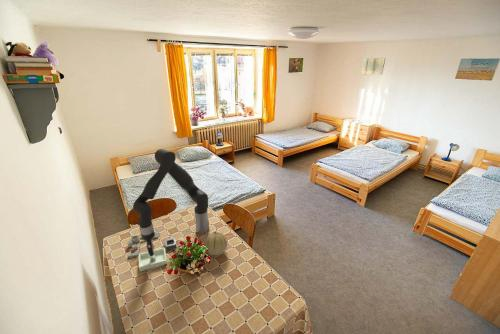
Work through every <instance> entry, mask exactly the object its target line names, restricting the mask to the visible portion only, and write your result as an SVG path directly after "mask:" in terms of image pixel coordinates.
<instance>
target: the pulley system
mask: <svg viewBox="0 0 500 334" xmlns="http://www.w3.org/2000/svg"><path fill="white" fill-rule="evenodd" d="M154 232H155V236H154V237H153V240H155V239H158V238H160V236H161V235H160V233H159V231H157V230H156V231H154ZM140 240H142V241H140ZM138 243H139V246H138V245H137V244H138ZM142 243H146V241H145V240H143V239H142V237H139V235H133V236H131V239H130V240H128V241H127V243H126V244H127V247H131V248H132V251H131V252H129V253H128V254H127V258H135V257H139V254H140V248H141V244H142ZM137 249H138V251H136V250H137Z"/></svg>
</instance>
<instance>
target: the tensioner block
mask: <svg viewBox="0 0 500 334" xmlns="http://www.w3.org/2000/svg"><path fill="white" fill-rule="evenodd" d="M164 245H165V251H168V250H172V249H173V250H174V249H176V248H178V247H177V246H178V245H177V241H176V237H172V238H168V239H165V240H164Z"/></svg>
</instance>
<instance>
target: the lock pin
mask: <svg viewBox="0 0 500 334" xmlns="http://www.w3.org/2000/svg"><path fill="white" fill-rule="evenodd" d="M152 248H153V254H154V255H153V256H150V255H149V258H150V262H154V261H155V260H156V257H155V252H154V250H155V246H154V244H153V247H152ZM146 250H147V251H148V249H147V248H146Z"/></svg>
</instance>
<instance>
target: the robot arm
mask: <svg viewBox="0 0 500 334" xmlns="http://www.w3.org/2000/svg"><path fill="white" fill-rule="evenodd" d="M176 158H177V157H176V153H175V152H174V151H171V150H170V149H169V150H168V149H165V148H159V149H158V150H156V151H155V152H154V160H155V161H156V163H158V164H159V167H158V169H157V170H156V172H155V173H154V174H153V175H152V176H151V177H150V179H148V181H146V184H145V186H144V188H143V190H142V192H141V194H139V196H138V197H137V198H136V199H135V201H134V202H133V204H132V210H133V211H134V212H135V213H137V214H138V215H139V216H138V219H137V222H138V226H139V232H140V238H142V239H141V240H142V241H145V245H146V250H147V249H148V250H147V252H148V253H149V255H150V256H153V255H154V254H153V248H152V247H153V245H154V243H153V242H154V239H153V238H155V232H156V231H155V228H154V225H153V221H152V212H153V208H152V206H151V204H149V203H148V201H149V200H153V199H154V198H155V197H156V194H157V192H158V190H159V189H160V188H159V187H160V186H161V184H162V183H163V181H164V179H165V177H166V176H167V175H168V174H169V175H170V176H171V178H173V180H174V181H175V183H177V184H178V185H179V187H180V188H182V190H184V191H186V193H187V194H188V195H189V197H190V198H191V200H192V201H193V202H194V203H196V205H195V206H194V219H195V230H196V232H197V233H199V234H205V233H207V232H208V231H210V222H209V221H210V219H209V215H208V214H209V213H208V210H209V209H208V208H209V196H208V194H207V193H206V192H205V191H203V190H202V189H201V188H200V187H198V186H197V185H196V184H195V182H194V179H193V177H192V176H191V174H190V173H189V172H188V171H187V170H185V169H184V168H183V167H182V166H180V165H179V164H178V163H176V162H175V161H176Z"/></svg>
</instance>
